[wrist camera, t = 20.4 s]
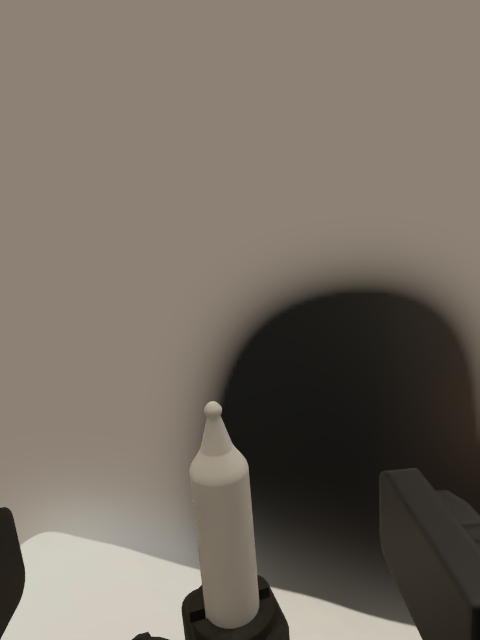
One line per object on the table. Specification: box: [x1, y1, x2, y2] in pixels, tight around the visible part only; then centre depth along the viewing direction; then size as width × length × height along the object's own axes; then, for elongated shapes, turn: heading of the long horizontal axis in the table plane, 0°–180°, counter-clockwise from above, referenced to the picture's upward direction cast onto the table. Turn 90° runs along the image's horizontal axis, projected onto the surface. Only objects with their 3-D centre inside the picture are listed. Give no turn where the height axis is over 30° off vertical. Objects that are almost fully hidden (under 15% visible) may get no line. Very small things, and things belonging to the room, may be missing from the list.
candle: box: [182, 401, 290, 640], centre depth 25 cm, size 5×5×25 cm
